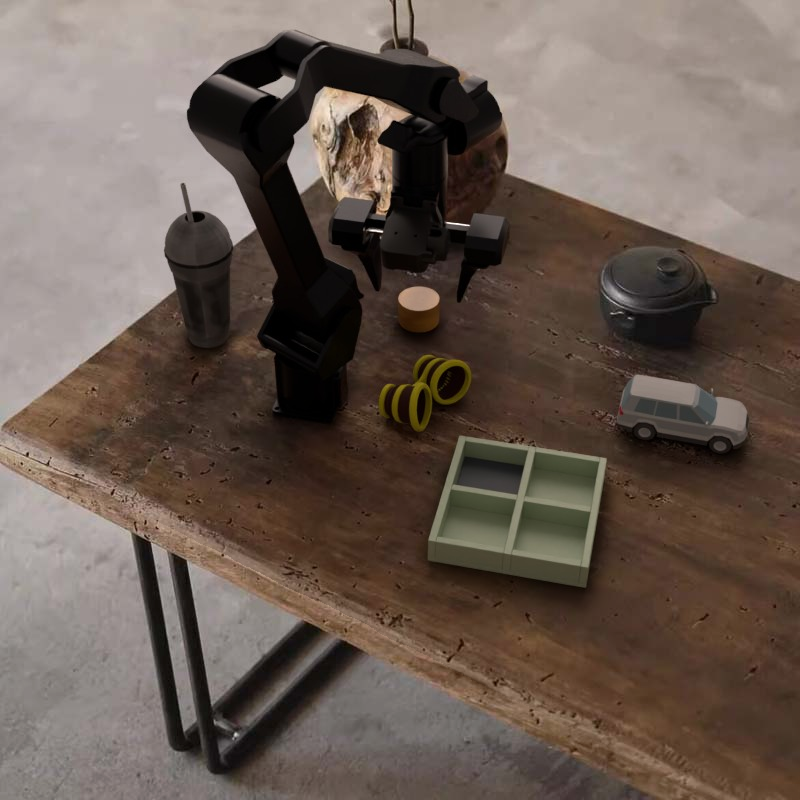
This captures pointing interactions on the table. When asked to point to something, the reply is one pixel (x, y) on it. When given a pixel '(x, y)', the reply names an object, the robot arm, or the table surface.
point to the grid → (519, 511)
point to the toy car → (682, 413)
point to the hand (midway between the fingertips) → (418, 295)
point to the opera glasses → (425, 391)
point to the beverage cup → (201, 273)
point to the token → (418, 309)
